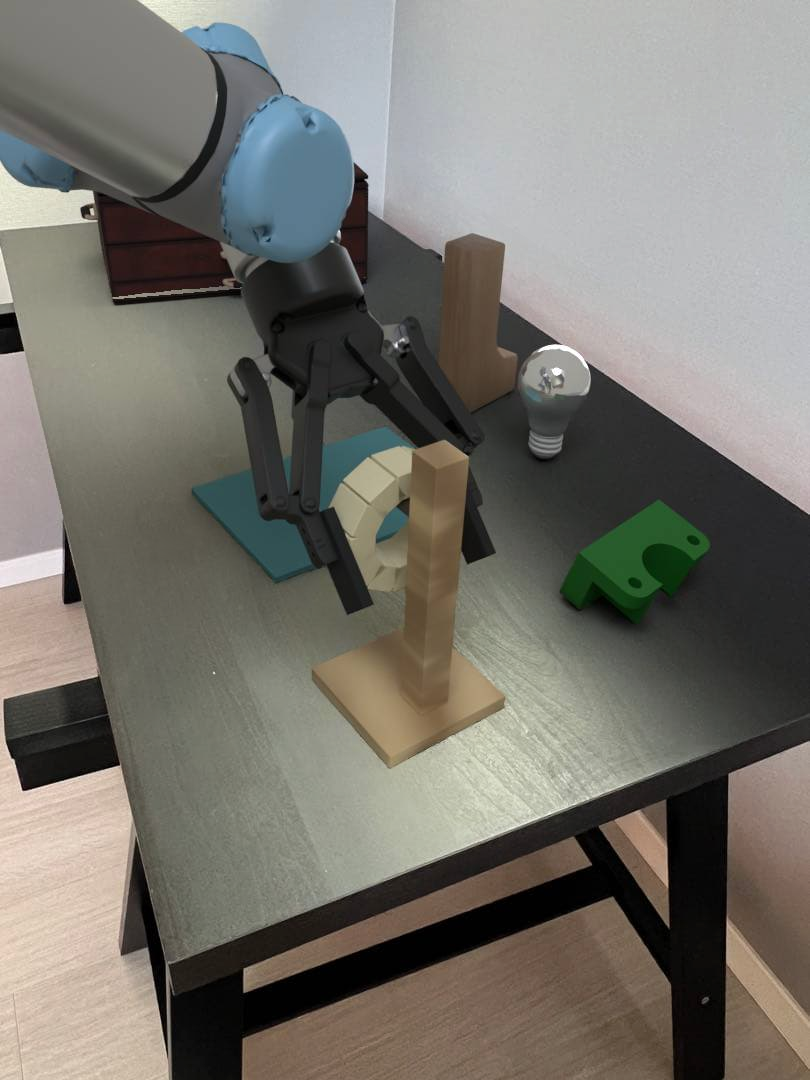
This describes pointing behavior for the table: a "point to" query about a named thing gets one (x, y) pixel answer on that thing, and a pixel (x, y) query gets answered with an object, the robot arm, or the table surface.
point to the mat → (278, 539)
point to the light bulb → (552, 395)
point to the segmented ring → (376, 516)
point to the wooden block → (474, 321)
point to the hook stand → (417, 631)
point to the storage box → (190, 249)
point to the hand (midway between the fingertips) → (423, 583)
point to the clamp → (636, 561)
